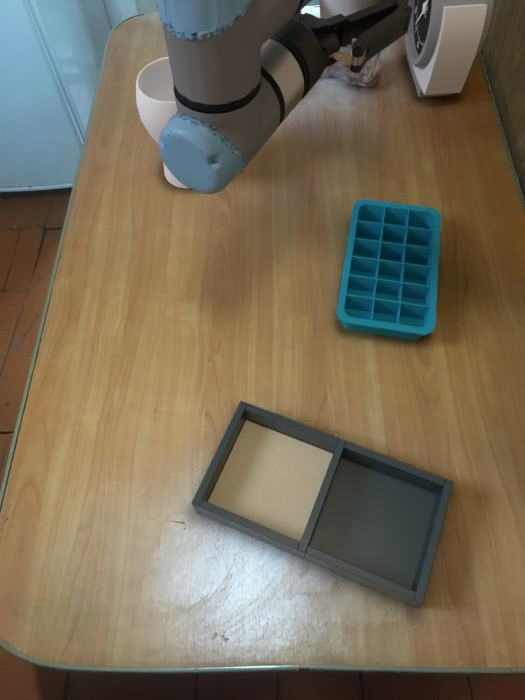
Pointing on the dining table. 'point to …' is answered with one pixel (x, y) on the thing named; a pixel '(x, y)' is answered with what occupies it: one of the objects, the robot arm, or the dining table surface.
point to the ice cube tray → (391, 270)
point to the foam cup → (343, 7)
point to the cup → (157, 102)
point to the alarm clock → (445, 42)
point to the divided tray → (327, 502)
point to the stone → (363, 78)
